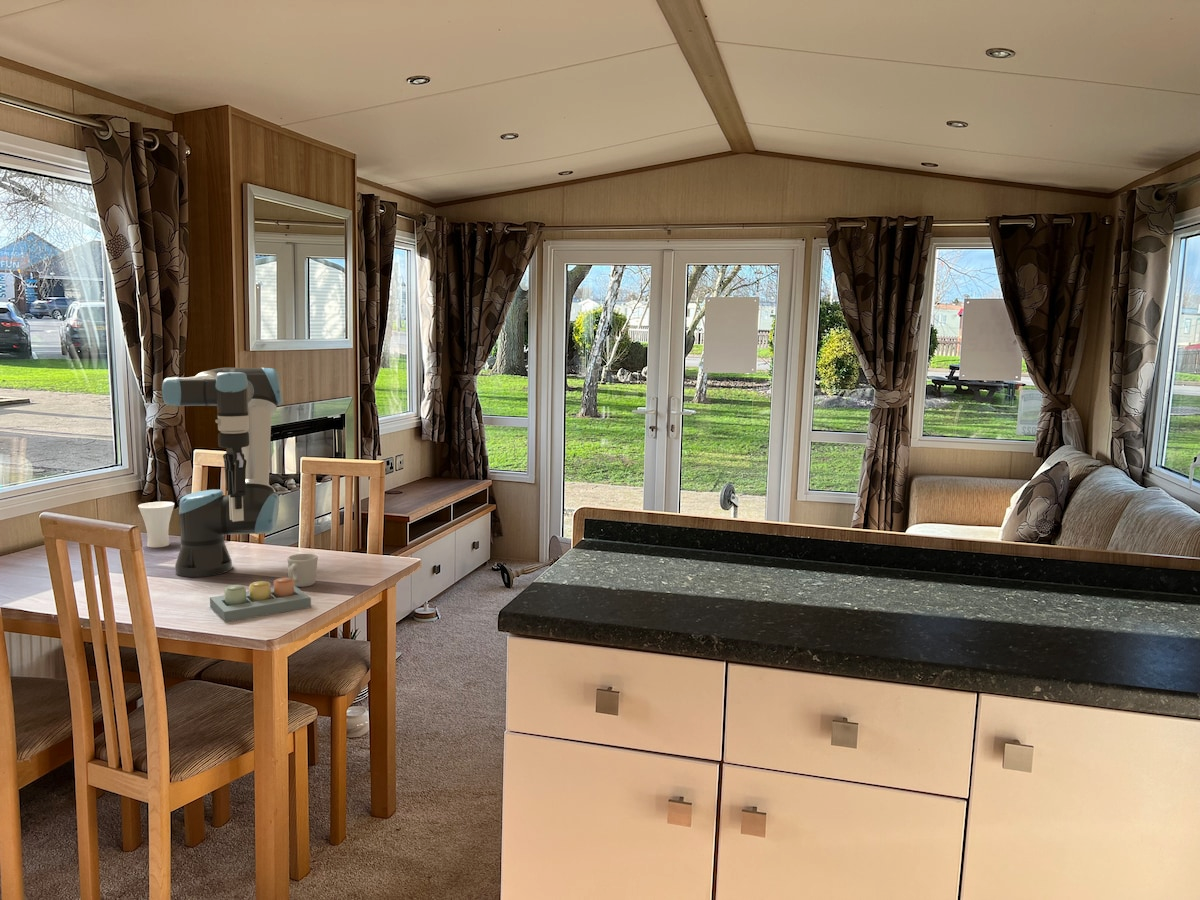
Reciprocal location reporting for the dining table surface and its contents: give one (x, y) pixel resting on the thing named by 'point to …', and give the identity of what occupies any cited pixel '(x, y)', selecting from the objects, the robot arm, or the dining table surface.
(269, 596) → the button ochre
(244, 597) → the button sage
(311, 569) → the cup
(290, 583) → the button terracotta
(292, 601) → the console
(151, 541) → the cup
